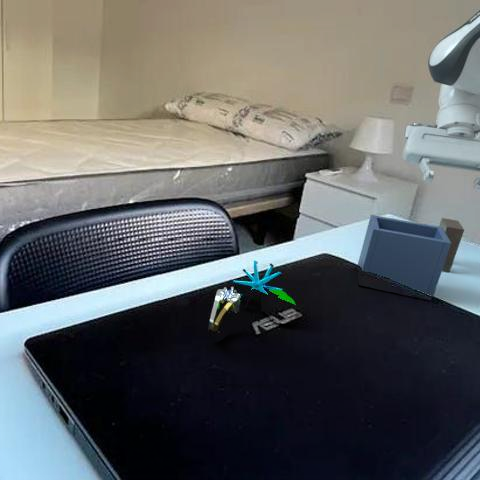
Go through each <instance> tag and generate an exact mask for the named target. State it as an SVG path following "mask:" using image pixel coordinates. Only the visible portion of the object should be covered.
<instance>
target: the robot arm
mask: <svg viewBox="0 0 480 480" xmlns="http://www.w3.org/2000/svg"><path fill="white" fill-rule="evenodd" d="M427 60H428V61H427V66H428V71H429V73H430V76H431V79H432V81H433V82H434V83H438V84H441V85H440V88H439V93H438V101H437V103H438V108H439V109H438V111H437V114H436V118H435V124H429V123H421V122H414V123H411V124H409V125H407V126H406V127H405V130H404V137H405V139H406V141H405V144H404V147H403V150H402V155H401V157H402V159H403V160H404V162H407V163H413V164H418V165H419V166H418V168H419V170H420V171H421V172H422V175H423V182H424V181H425V182H432V181H433V180H434V176H435V175H434V174H435V171H434V170H431V169H430V166H434V167H441V168H449V169H455V170H462V171H470V172H475V173H480V9H479V10H478V11H477V12H476V13H474V14H473V15H472V16H471V17H469V19H468V20H466V21H465V22H464V23H463V24H462V25H460V26H459V27H458V28H456V29H455V30H453V31H451V32H450V33H448V34H447V35H445V36H444V37H443V38H442V39H441V40H440V41H438V43H437V44H436V45H435V46H434V48H433V49H432V51H431V52H430V54H429V57H428V59H427ZM472 189H475V190H480V176H477V177H476V178H475V179H474V181H473V187H472Z"/></svg>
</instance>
